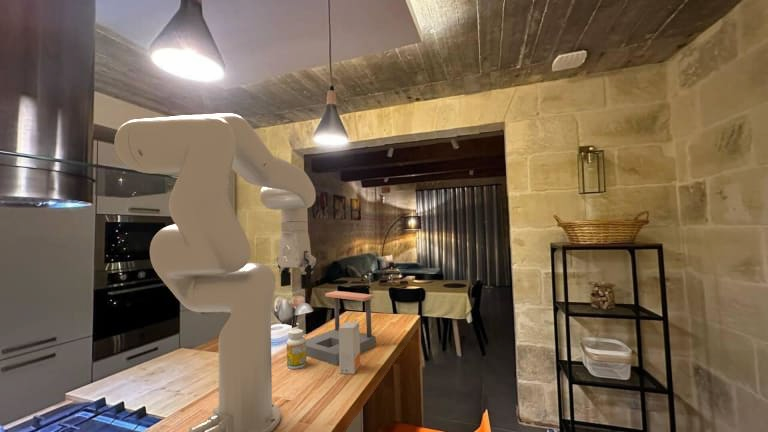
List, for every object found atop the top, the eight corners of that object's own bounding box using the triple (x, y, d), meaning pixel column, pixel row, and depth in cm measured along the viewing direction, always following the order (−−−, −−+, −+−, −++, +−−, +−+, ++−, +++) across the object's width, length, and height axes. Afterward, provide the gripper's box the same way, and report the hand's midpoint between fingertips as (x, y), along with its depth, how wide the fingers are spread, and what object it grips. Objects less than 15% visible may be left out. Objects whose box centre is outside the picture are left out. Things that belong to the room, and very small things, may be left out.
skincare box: (354, 374, 79) (353, 328, 80) (339, 373, 80) (337, 327, 80) (361, 364, 85) (359, 321, 86) (346, 364, 86) (345, 321, 86)
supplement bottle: (306, 367, 84) (306, 332, 85) (286, 370, 83) (286, 335, 83) (305, 360, 89) (305, 327, 90) (287, 363, 88) (286, 329, 88)
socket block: (336, 365, 85) (334, 306, 86) (296, 352, 96) (295, 300, 97) (376, 345, 99) (374, 294, 100) (337, 336, 110) (336, 290, 111)
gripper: (266, 230, 91) (267, 287, 90) (302, 227, 81) (304, 291, 79) (288, 229, 97) (289, 283, 96) (324, 227, 87) (325, 287, 85)
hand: (295, 287), depth 88 cm, fingers open, 9 cm apart
